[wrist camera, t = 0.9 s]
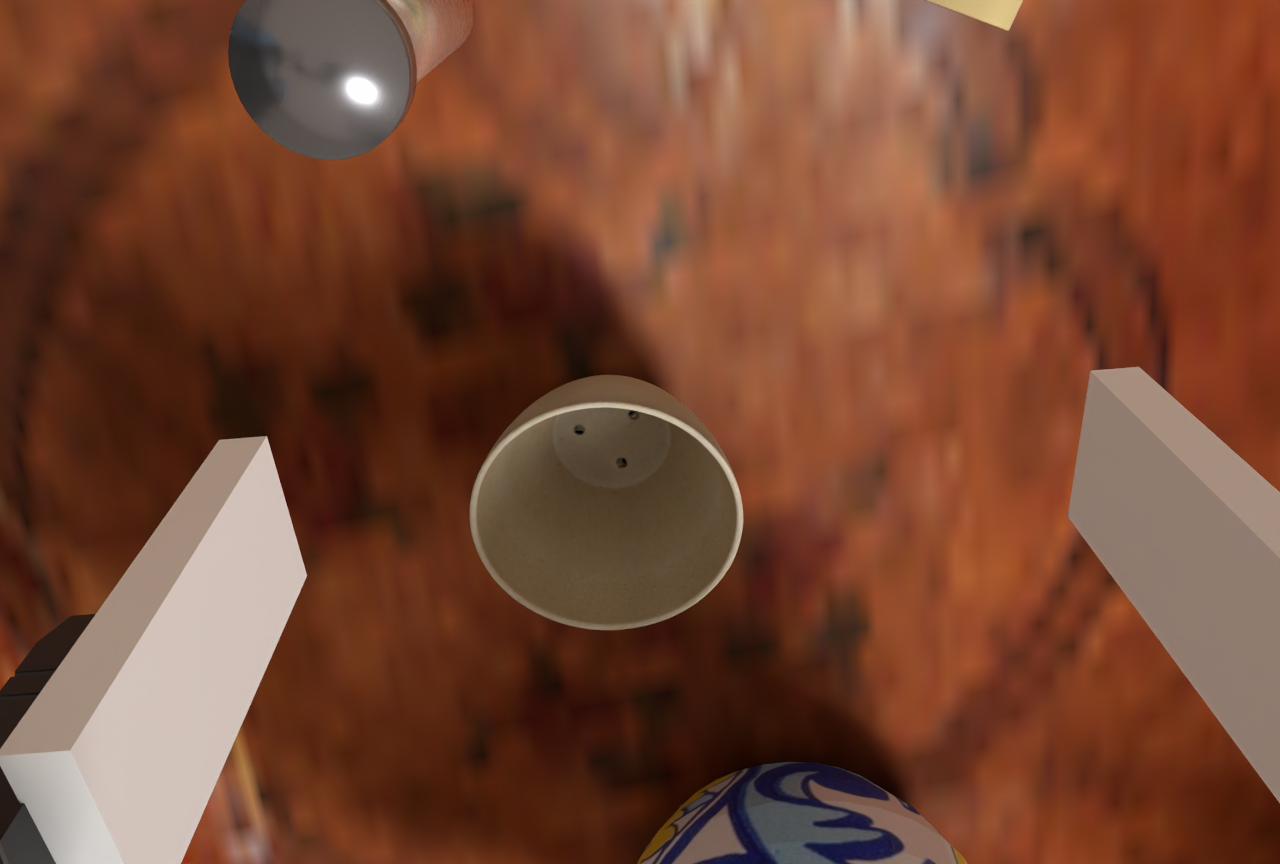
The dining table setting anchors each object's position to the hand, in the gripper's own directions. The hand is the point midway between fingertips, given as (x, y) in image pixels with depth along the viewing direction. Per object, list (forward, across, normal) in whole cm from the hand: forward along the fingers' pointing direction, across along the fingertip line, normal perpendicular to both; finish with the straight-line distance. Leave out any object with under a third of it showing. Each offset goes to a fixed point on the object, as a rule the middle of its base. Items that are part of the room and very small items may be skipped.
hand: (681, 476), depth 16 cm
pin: (+24, -7, +5) cm, 25 cm away
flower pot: (+24, -2, -12) cm, 27 cm away
